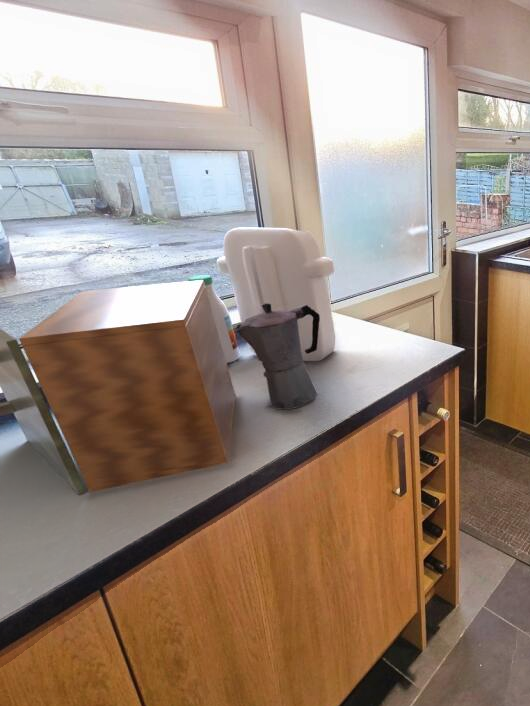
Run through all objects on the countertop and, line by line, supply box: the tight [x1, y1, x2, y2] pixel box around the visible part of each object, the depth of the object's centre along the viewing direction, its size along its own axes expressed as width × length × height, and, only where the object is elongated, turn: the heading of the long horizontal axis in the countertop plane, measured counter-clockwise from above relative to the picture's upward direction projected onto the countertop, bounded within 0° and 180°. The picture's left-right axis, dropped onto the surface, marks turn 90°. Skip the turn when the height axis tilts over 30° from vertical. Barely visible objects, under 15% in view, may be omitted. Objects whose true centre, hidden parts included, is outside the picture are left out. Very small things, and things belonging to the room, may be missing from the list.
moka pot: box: [233, 303, 320, 410], centre depth 95 cm, size 10×15×20 cm, turn 137°
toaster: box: [216, 226, 336, 362], centre depth 115 cm, size 27×11×30 cm, turn 77°
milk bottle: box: [187, 274, 241, 364], centre depth 115 cm, size 8×8×20 cm
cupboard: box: [18, 280, 237, 493], centre depth 81 cm, size 18×26×24 cm
